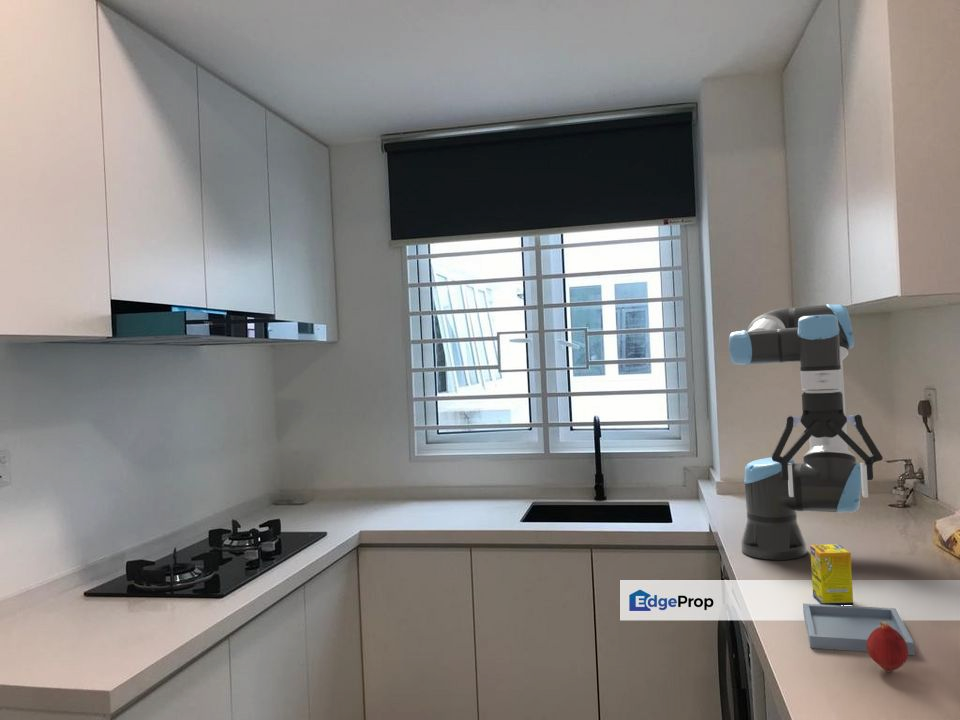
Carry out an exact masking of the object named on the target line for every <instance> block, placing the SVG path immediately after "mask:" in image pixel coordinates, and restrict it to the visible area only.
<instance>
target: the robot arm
mask: <svg viewBox="0 0 960 720" xmlns="http://www.w3.org/2000/svg"><path fill="white" fill-rule="evenodd" d="M850 317H851V316H850V314H849V312H848V309H847V307H846V306H845V305H843V304H839V303H838V304H828V303H827V304H826V303H825V304H820V305H809V306H807V305H806V306H796V307H794V306H793V307H782V308H778V309H777V308H776V309H774V310H770V311H768V312H765V313H763V314H760V315H759V316H757V317H756V318H754V319H753V320H752V321H751V322H750V324H749V325H748V327H747V330H744V329H743V330H739V331H733V332H731V333H729V338H728V352H729V358H730V361H731V363H732V364H733V365H743V366H744V365H746V366H750V365H757V364H759V365H761V364H776V363H777V364H778V363H780V364H781V363H783V364H785V363H800V367H799V369H800V371H799V372H800V387H801V388H800V389H801V390H802V391H804V392H803V393H802V394H801V407H802V408H801V409H802V415H801V416H792V415H789V414H788V415H787V416H786V421H785V422H786V423H785V427H784V430H783V431H782V433H781V436H780V438H779V440H778V442H777V444H776V445H775V449H774V450H773V453H772V454H771V457H764V458H760V459H756V460H752V461H750V462H748V463H747V464H746V466H745V467H744V480H743V483H744V486H745V488H744V489H745V500H746V501H745V502H746V504H745V506H746V523H745V527H744V531H743V533H742V534H743V535H742V538H741V542H740V543H741V544H740V545H741V552H742V553H743V554H745V555H747V556H748V557H749V556H750V557H753V558H756V559H763V560H772V561H777V560H778V561H779V560H780V561H785V560H786V561H787V560H794V559H798V558H802V557H805V556H806V555H807V543H806V540H805V538H804V536H803V532H802V530H801V528H800V525H799V523H798V518H797V512H809V513H810V512H815V513H816V512H818V513H836V514H840V513H854V512H856V511H858V510H859V508H860V504H861V496H862V497H863V498H864V499H866V498H869V489H868V488H869V487H868V486H869V485H868V484H869V483H868V481H873V479H874V467H873V465H874V463H877V462H881V461H883V459H884V458H883V455H882V453H881V452H880V451H879V449H878V447H877V446H876V444H875V442H874V440H873V439H872V438H871V436H870V435H869V433H868V431H867V430H866V429H867V428H865V426H864V424H863V418H862V415H860V414H858V413H854V414H853V415H847V414H846V413H847V412H846V411H847V410H846V398H845V383H844V382H845V381H844V368H843V367H844V366H843V363H844V362H843V361H844V360H845V359H846V357H848V356H849V350H851V349H852V348H854V346H855V339H854V334H853V326H852V322H851V318H850ZM847 422H849V424H850V425H851V426H854V427H855V429H856V431H857V432H858V434H859V435H860V437H861V439H862V440H863V442H864V443H865V445H866V447H867V448H868V450H869V451H870V453H871V455H868V454H867V452H865V451H864V450H863V449H862V448H861V447H860V446H859V445H858V444H857V443H856V442H855V441H854V440H853V439H852V438H851V437H850V436H849V435H848V430H847V429H848V428H847V427H848V426H847ZM799 423H801V425H802V426H803V427H804V428H805V429H804V430H803V432H802V433H801V435H800V436H799V437H798V438H797V439H796V441H795V442H794V443H793V444H792V445H791V446H790V447H789V448H788V450H787V451H786V452H785V454H784V455H783V456H781V454H782V453H783V450H784V448H785V446H786V444H787V442H788V440H789V437H790V436H791V434H792V432H793V428H795V427H796V428H797V426H798V424H799ZM807 441H808V443H809V450H808V451H807V452H806V453H805V454H804V455H803V458H802V459H803V462H802V463H797V462H796V463H795V460H794V458H793V457H794V456H795V455H796V454H797V453H798V452H799V450H800V449H801V448H802V447H803V446H804V445H805V444H806V442H807ZM849 447H850V449H852V450H853V451H854V452H855V453H856V454H857V455H858V456H859V457H860V458H861V459H862V461H864V462H857V461H856V456H855V454H853V453H852V452H851V451H849Z"/></svg>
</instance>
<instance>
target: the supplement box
mask: <svg viewBox="0 0 960 720" xmlns="http://www.w3.org/2000/svg"><path fill="white" fill-rule="evenodd" d="M809 547H810V549H809V550H810V551H809V552H810V563H811V564H810V566H811V584H812V597H813V598H814V599H816V600H817V602H818V603H819V604H822V605H843V606H844V605H853V606H854V597H853V578H852V577H853V574H852V557H851V556H852V555H851V552H850V551H848V550H847V549H845V548H844V546H842V545H841V544H839V543H835V544H834V543H832V544H829V543H828V544H812V545H811V544H810V545H809Z"/></svg>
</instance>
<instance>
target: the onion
mask: <svg viewBox="0 0 960 720" xmlns="http://www.w3.org/2000/svg"><path fill="white" fill-rule="evenodd" d="M880 624H881V627H879V628H877V629H875V630H874V631H873V632H872V633H871V634H870V636H869V637H868V639H867V644H866V646H867V651H868V652H867V654H868V655H869V657H870V658H871V660H872V661H874V663H875V664H877V665H878V666H879V667H881V668H882V670H884V671H885V672H888V673H890V672H893V671H895V670H898V669H900V668H901V667H902V666H903V665H904V664H905V663H906V662H907V660H908V658H909V655H908V647H907V644H906V642H905V640H904V638H903V637H902V636H901V634H900V633H898V632H897V631H896V630H895V629H893V628H892V627H891V626H890V625H888V624H887V623H886V622H881V623H880Z"/></svg>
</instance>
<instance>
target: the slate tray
mask: <svg viewBox="0 0 960 720" xmlns="http://www.w3.org/2000/svg"><path fill="white" fill-rule="evenodd" d="M802 611H803V612H802V613H803V618H804V623H805V628H806V634H807V639H808V643H809V648H811V649H820V650H822V649H823V650H834V649H835V651H847V650H848V651H851V652H864V653H868V651H867V646H866V644H867V639H868V637H869V636H870V634H871V633H872V632H873V631H874V630H875V629H877V628H879V627H881V624H880V623H881V622H886V623H887V624H888V625H890V626H891V627H892V628H893V629H895V630H896V631H897V632H898V633H900V634H901V636H902V637H903V638H904V640H905V642H906V644H907V647H908V656H915V653H916V651H915V642H914V640H913V638H912V636H911V635H910V633H909V631H908V629H907V627H906V625H905V623H904V622H903V619H902V618H901V616H900V614H899V612H898V611H897V608H894V607H893V608H892V607H876V606H875V607H874V606H858V605H857V606H856V605H853V606H841V605H822V604H821V603H818V604H817V603H802Z"/></svg>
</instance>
